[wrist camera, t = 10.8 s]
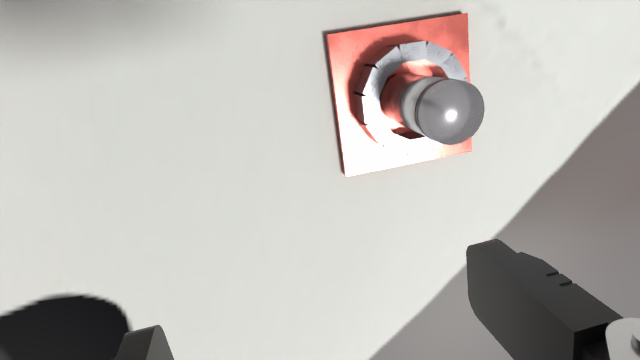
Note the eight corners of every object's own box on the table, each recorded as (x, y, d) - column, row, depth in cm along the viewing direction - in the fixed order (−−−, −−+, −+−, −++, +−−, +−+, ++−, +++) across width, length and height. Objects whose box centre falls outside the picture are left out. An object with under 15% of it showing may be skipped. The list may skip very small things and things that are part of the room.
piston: (378, 77, 40) (421, 86, 31) (426, 68, 41) (484, 74, 32) (383, 128, 42) (426, 151, 33) (430, 118, 43) (485, 138, 33)
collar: (325, 34, 39) (334, 33, 36) (462, 13, 41) (484, 10, 37) (343, 173, 44) (353, 185, 40) (466, 149, 46) (487, 158, 42)
